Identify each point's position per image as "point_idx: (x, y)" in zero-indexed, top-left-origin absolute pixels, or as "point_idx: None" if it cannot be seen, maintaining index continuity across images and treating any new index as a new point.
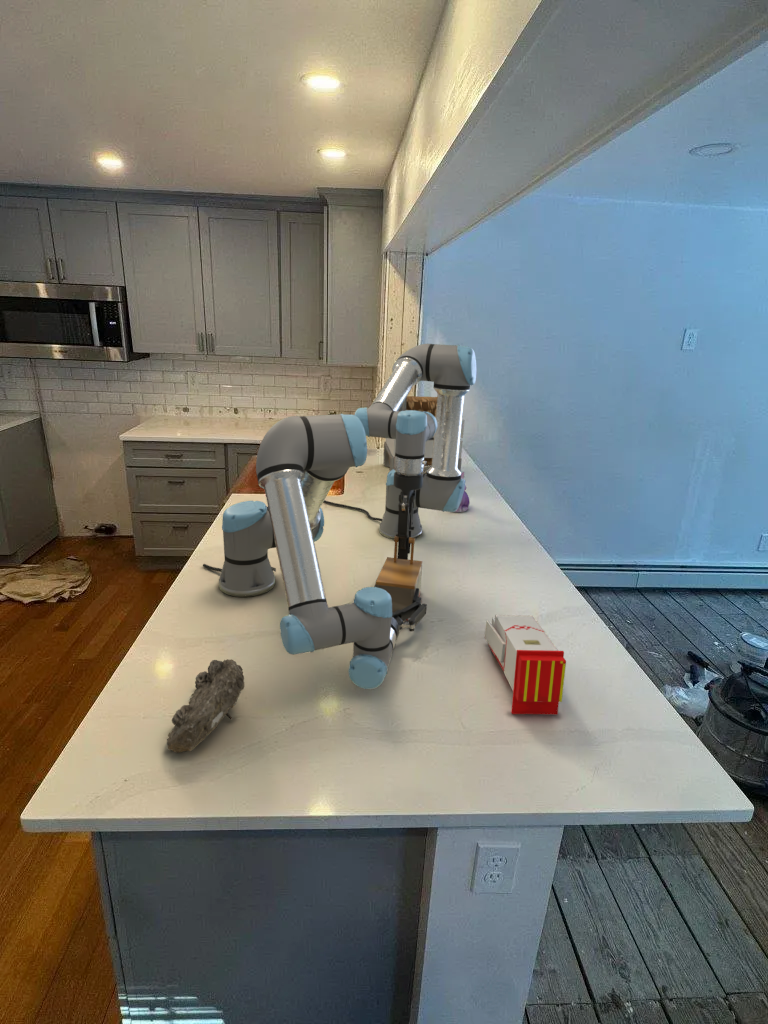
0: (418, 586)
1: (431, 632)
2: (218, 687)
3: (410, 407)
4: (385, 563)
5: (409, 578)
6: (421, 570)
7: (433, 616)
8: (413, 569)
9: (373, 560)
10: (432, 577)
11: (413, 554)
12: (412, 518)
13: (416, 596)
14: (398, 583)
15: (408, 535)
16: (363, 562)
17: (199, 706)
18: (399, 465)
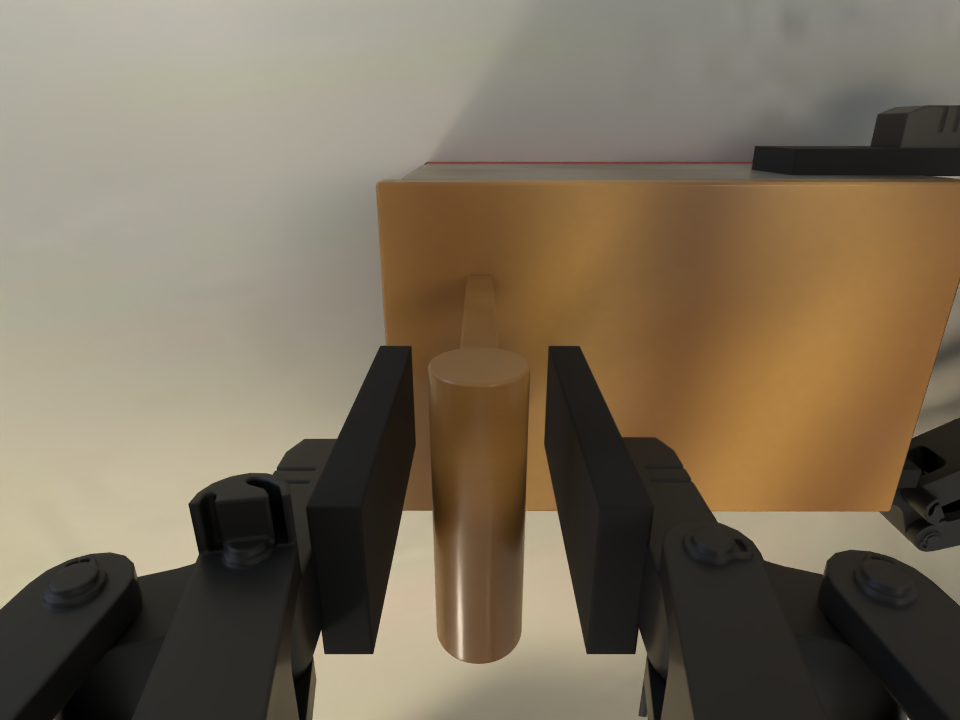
0: (598, 170)
1: (930, 12)
2: None
3: None
4: (534, 502)
5: (820, 258)
6: (436, 175)
7: (720, 23)
8: (606, 249)
9: (85, 512)
10: (138, 102)
11: (469, 302)
12: (6, 697)
13: (951, 151)
14: (930, 339)
15: (730, 545)
16: (140, 555)
17: None
18: None
